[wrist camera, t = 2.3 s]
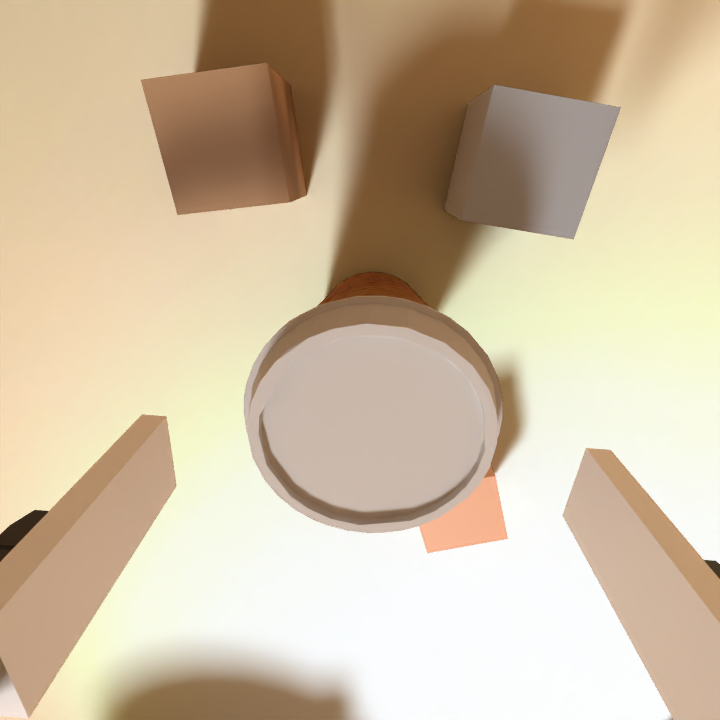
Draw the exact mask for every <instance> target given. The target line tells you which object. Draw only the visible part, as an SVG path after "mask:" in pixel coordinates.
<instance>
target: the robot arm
mask: <svg viewBox="0 0 720 720" xmlns="http://www.w3.org/2000/svg"><path fill="white" fill-rule="evenodd" d="M175 487H176V479H175V472H174V465H173V458H172V451H171V444H170V437H169V431H168V424H167V417H166V416H154V415H141V416H140V417H139V418H138V419H137V420H136V421H135V423H134V424H133V425H132V426H131V427H130V428H129V429H128V430H127V431H126V432H125V433H124V434H123V435H122V436H121V437H120V438H119V439H118V440H117V441H116V442H115V443H114V444H113V445H112V446H111V447H110V448H109V450H108V451H107V452H106V453H105V454H104V455H103V456H102V457H101V458H100V459H99V460H98V461H97V462H96V463H95V464H94V465H93V466H92V467H91V468H90V469H89V470H88V471H87V472H86V473H85V474H84V475H83V477H82V478H81V479H80V480H79V481H78V482H77V483H76V484H75V485H74V486H73V487H72V488H71V489H70V490H69V491H68V492H67V493H66V494H65V495H64V496H63V497H62V498H61V499H60V500H59V501H58V502H57V504H56V505H55V506H54V507H53V508H52V509H51V510H50V511H41V510H34V511H32V512H31V513H29V514H28V515H26V516H24V517H23V518H21V519H19V520H18V521H16V522H15V523H13V524H11V525H10V526H9V527H8V528H7V529H6V530H5V531H4V532H2V533H1V534H0V716H6V717H19V718H29V717H30V716H31V714H32V713H33V711H34V709H35V708H36V706H37V705H38V703H39V702H40V700H41V698H42V697H43V695H44V694H45V692H46V691H47V689H48V687H49V686H50V684H51V683H52V681H53V680H54V678H55V676H56V675H57V673H58V672H59V670H60V668H61V667H62V665H63V664H64V662H65V661H66V659H67V657H68V656H69V654H70V653H71V651H72V650H73V648H74V646H75V645H76V643H77V642H78V640H79V639H80V637H81V635H82V634H83V632H84V631H85V629H86V628H87V626H88V624H89V623H90V621H91V620H92V618H93V617H94V615H95V613H96V612H97V610H98V609H99V607H100V605H101V604H102V602H103V601H104V599H105V598H106V596H107V594H108V593H109V591H110V590H111V588H112V587H113V585H114V583H115V582H116V580H117V579H118V577H119V576H120V574H121V572H122V571H123V569H124V568H125V566H126V565H127V563H128V561H129V560H130V558H131V557H132V555H133V554H134V552H135V550H136V549H137V547H138V546H139V544H140V542H141V541H142V539H143V538H144V536H145V535H146V533H147V531H148V530H149V528H150V527H151V525H152V524H153V522H154V520H155V519H156V517H157V516H158V514H159V513H160V511H161V509H162V508H163V506H164V505H165V503H166V502H167V500H168V498H169V497H170V495H171V494H172V492H173V490H174V489H175ZM563 517H564V519H565V521H566V522H567V524H568V526H569V528H570V530H571V532H572V533H573V535H574V537H575V539H576V541H577V543H578V544H579V546H580V548H581V550H582V552H583V554H584V555H585V557H586V559H587V561H588V563H589V565H590V567H591V568H592V570H593V572H594V574H595V576H596V578H597V579H598V581H599V583H600V585H601V587H602V589H603V590H604V592H605V594H606V596H607V598H608V600H609V601H610V603H611V605H612V607H613V609H614V611H615V612H616V614H617V616H618V618H619V620H620V622H621V623H622V625H623V627H624V629H625V631H626V633H627V634H628V636H629V638H630V640H631V642H632V644H633V645H634V647H635V649H636V651H637V653H638V655H639V656H640V658H641V660H642V662H643V664H644V666H645V668H646V669H647V671H648V673H649V675H650V677H651V679H652V680H653V682H654V684H655V686H656V688H657V690H658V691H659V693H660V695H661V697H662V699H663V701H664V702H665V704H666V706H667V708H668V710H669V712H670V713H671V715H672V717H673V719H674V720H720V564H719V563H717V562H716V561H710V560H703V559H702V558H701V556H700V555H699V554H698V553H697V552H696V550H695V549H694V548H693V547H692V546H691V545H690V543H689V542H688V541H687V540H686V539H685V537H684V536H683V535H682V534H681V533H680V532H679V530H678V529H677V528H676V527H675V526H674V524H673V523H672V522H671V521H670V520H669V518H668V517H667V516H666V515H665V514H664V513H663V511H662V510H661V509H660V508H659V507H658V505H657V504H656V503H655V502H654V501H653V500H652V498H651V497H650V496H649V495H648V494H647V492H646V491H645V490H644V489H643V488H642V487H641V485H640V484H639V483H638V482H637V481H636V479H635V478H634V477H633V476H632V475H631V474H630V472H629V471H628V470H627V469H626V468H625V466H624V465H623V464H622V463H621V462H620V461H619V459H618V458H617V457H616V456H615V455H614V453H613V452H612V451H611V450H603V449H590V448H586V450H585V453H584V456H583V459H582V461H581V464H580V467H579V470H578V473H577V476H576V478H575V481H574V484H573V487H572V490H571V493H570V496H569V498H568V501H567V504H566V507H565V510H564V513H563Z"/></svg>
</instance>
